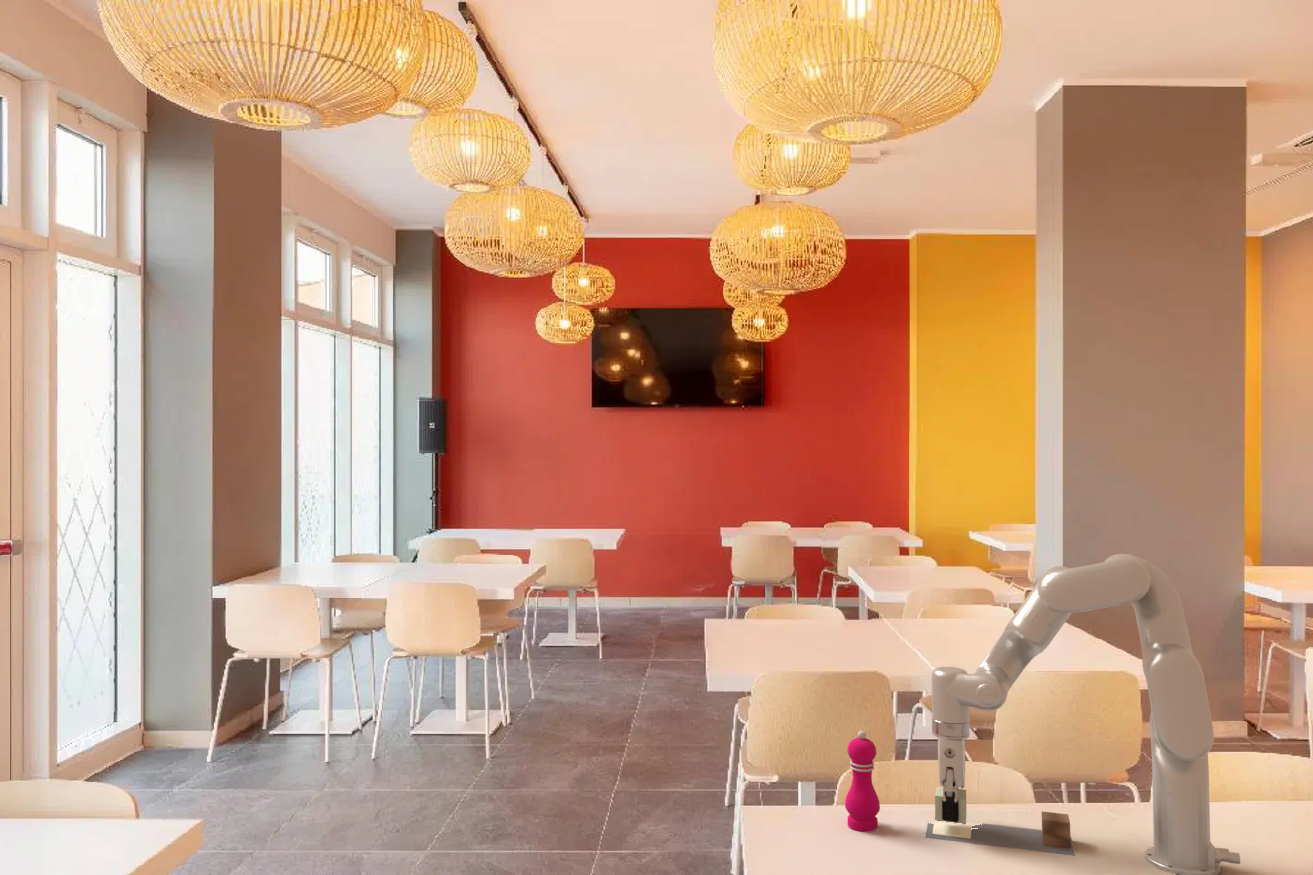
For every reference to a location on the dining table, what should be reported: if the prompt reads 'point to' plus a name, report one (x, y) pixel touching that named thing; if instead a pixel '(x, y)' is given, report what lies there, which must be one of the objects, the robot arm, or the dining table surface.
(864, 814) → the pepper mill
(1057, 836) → the walnut cube
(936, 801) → the sage block
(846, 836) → the dining table surface
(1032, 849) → the build mat
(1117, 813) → the dining table surface
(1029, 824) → the dining table surface
